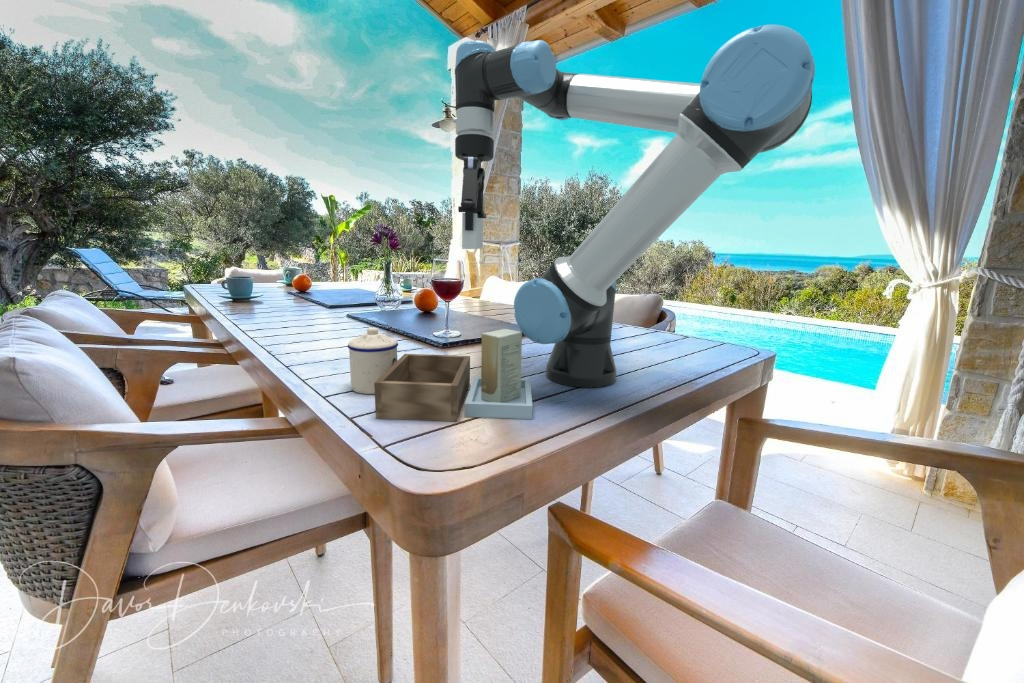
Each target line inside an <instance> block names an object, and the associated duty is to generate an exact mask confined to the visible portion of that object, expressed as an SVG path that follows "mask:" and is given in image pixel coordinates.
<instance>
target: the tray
mask: <svg viewBox="0 0 1024 683" xmlns="http://www.w3.org/2000/svg"><path fill="white" fill-rule="evenodd" d="M531 386H532V385H531V379H530V378H521V390H520V396H519V397H517V398H515V399H512V400H510V401H507V402H505V403H497V402H488V401H485V400H483V399H481V376H480V377H479V376H473V378H472V382H471V383H470V386H469V389H468V392H467V395H466V398H465V401H464V417H466V418H490V419H495V418H496V419H514V420H516V419H517V420H532V419H533V398H532V388H531Z"/></svg>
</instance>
